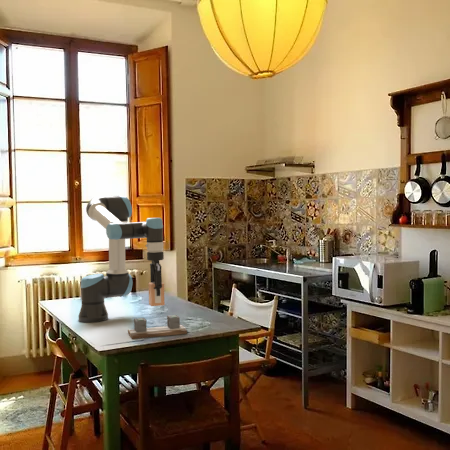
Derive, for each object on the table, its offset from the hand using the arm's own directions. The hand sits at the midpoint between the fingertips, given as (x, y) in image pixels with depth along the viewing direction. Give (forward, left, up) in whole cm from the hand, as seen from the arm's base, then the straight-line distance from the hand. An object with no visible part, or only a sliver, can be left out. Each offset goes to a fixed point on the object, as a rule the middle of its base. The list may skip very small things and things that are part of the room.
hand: (156, 301), depth 244 cm
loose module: (0, 0, -1) cm, 1 cm away
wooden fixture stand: (0, 0, -15) cm, 15 cm away
